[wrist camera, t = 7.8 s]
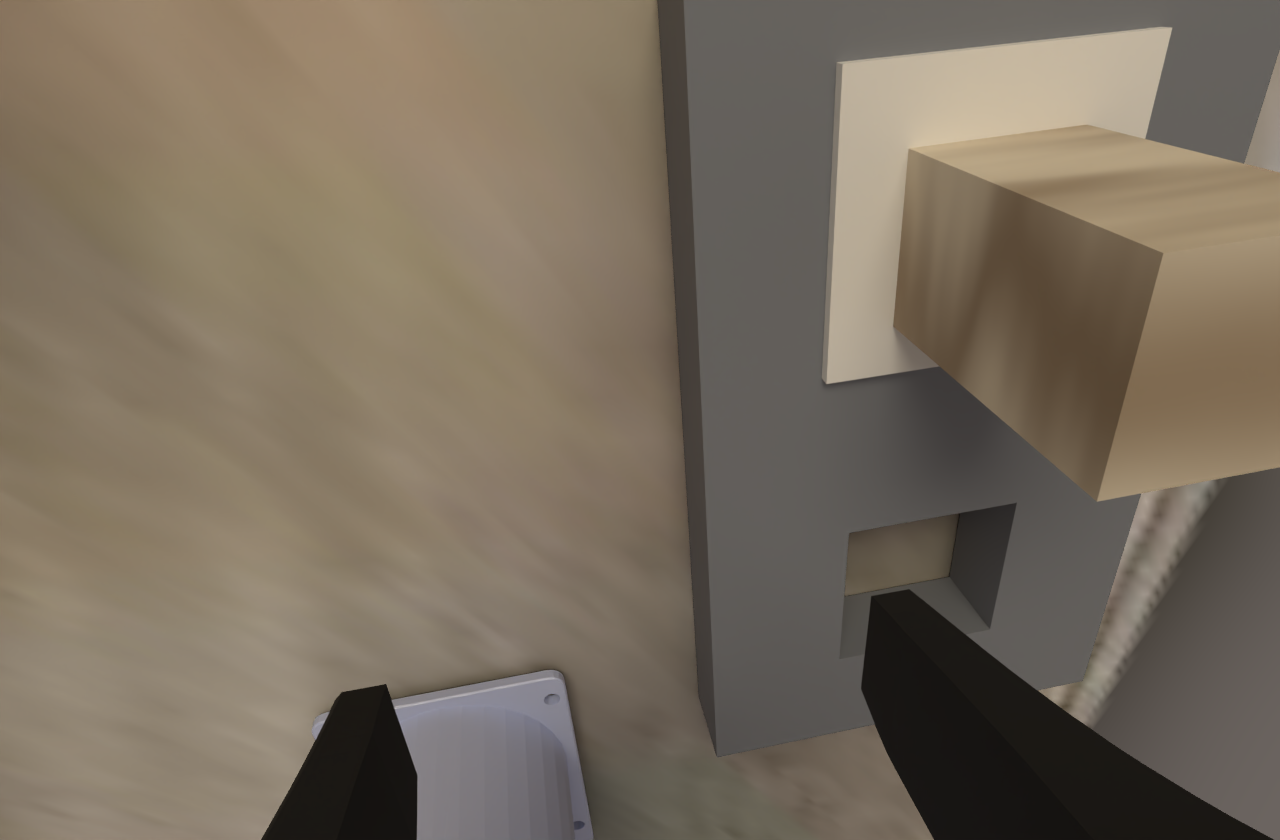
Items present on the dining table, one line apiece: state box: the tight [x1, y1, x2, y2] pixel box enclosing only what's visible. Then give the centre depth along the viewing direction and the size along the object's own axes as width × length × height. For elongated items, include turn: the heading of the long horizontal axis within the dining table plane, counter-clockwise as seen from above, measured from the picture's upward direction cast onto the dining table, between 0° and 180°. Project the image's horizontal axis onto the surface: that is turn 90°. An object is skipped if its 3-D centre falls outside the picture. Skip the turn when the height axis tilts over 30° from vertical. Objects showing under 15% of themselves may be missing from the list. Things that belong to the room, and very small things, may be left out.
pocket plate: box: [658, 0, 1280, 757], centre depth 21 cm, size 22×13×3 cm, turn 5°
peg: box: [893, 125, 1280, 502], centre depth 14 cm, size 4×4×7 cm
